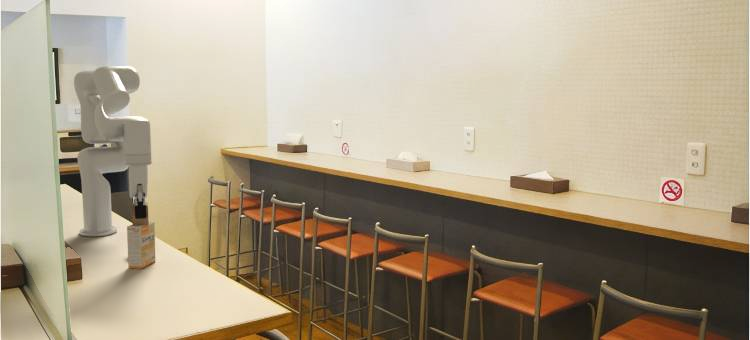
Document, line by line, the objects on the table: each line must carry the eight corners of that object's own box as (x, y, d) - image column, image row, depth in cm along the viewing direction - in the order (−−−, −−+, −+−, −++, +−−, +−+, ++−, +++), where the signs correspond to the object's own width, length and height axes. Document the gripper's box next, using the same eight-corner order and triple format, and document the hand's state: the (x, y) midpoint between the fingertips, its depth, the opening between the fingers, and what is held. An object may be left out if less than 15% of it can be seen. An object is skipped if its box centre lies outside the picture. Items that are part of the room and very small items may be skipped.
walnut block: (132, 222, 198) (131, 203, 197) (148, 221, 199) (147, 202, 199) (132, 225, 194) (132, 206, 193) (148, 224, 195) (147, 205, 194)
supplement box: (142, 269, 194) (140, 227, 192) (127, 268, 195) (126, 226, 193) (156, 261, 202) (155, 221, 200) (142, 260, 203) (141, 220, 201)
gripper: (124, 156, 200) (127, 209, 203) (125, 163, 184) (127, 222, 187) (150, 155, 203) (152, 208, 205) (152, 163, 187) (154, 220, 189)
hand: (140, 214), depth 196 cm, fingers open, 9 cm apart
